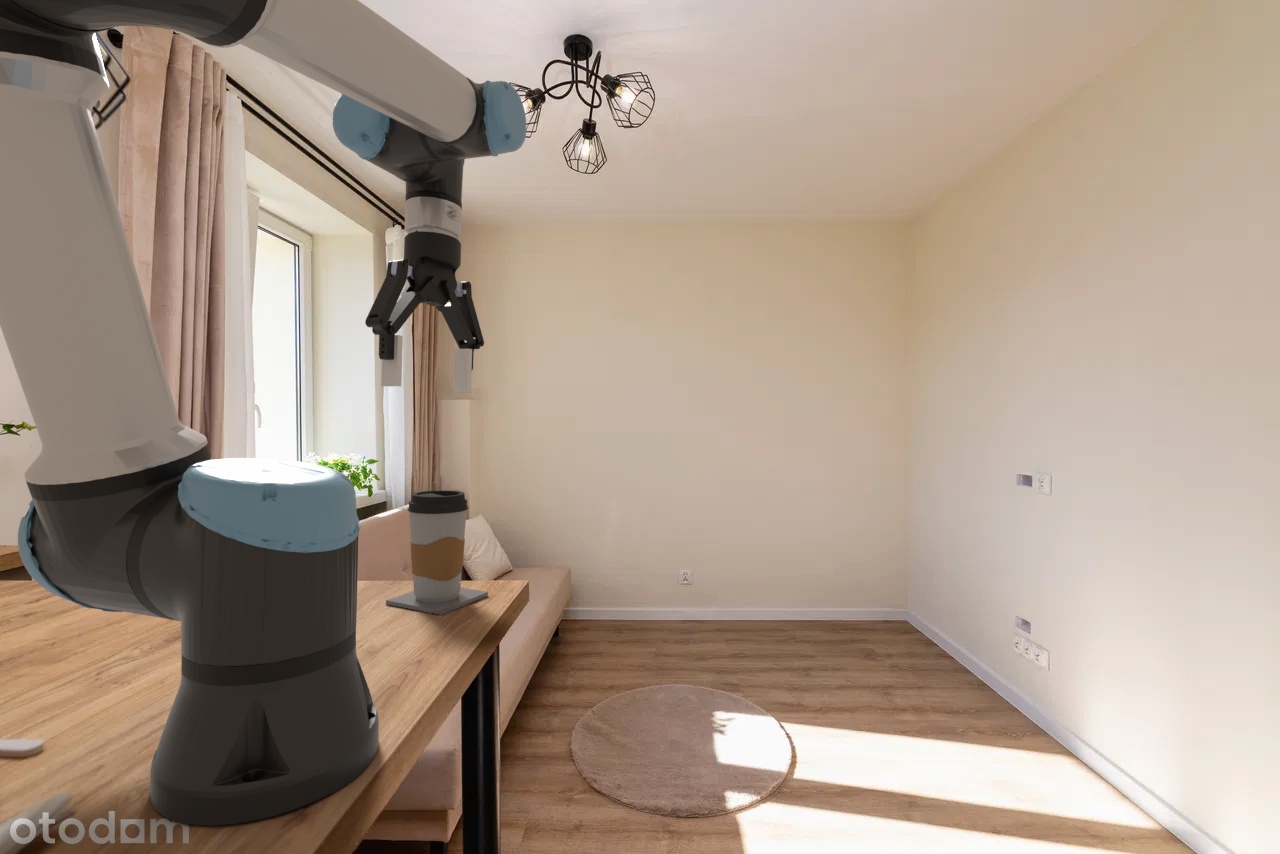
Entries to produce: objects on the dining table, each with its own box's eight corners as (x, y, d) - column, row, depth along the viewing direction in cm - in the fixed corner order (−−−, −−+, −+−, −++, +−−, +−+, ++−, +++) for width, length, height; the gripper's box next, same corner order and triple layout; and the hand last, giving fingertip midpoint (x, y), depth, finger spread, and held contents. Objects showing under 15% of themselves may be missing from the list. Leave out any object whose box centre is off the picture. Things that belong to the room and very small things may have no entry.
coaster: (440, 615, 84) (440, 610, 84) (385, 604, 88) (385, 600, 88) (487, 595, 93) (487, 591, 93) (436, 587, 97) (436, 583, 97)
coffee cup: (453, 585, 96) (454, 488, 96) (476, 598, 90) (477, 494, 90) (398, 594, 91) (399, 492, 91) (418, 609, 85) (419, 499, 84)
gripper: (382, 203, 74) (377, 382, 74) (509, 258, 97) (505, 395, 97) (337, 211, 77) (332, 382, 77) (470, 262, 100) (467, 395, 100)
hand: (429, 390), depth 87 cm, fingers open, 13 cm apart
